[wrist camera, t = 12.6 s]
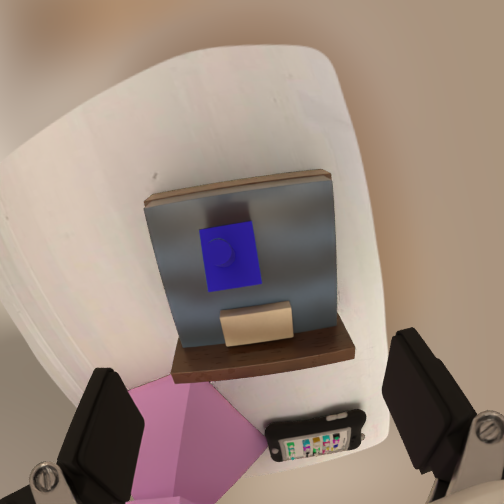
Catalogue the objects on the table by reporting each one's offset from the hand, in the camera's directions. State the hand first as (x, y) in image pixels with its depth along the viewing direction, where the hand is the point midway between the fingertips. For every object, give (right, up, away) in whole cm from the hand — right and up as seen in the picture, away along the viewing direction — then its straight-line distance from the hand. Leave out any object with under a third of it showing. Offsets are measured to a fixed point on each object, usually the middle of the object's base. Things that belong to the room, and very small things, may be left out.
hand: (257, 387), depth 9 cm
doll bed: (-1, +4, +21) cm, 22 cm away
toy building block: (-2, +5, +15) cm, 16 cm away
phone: (+10, -23, +33) cm, 42 cm away
